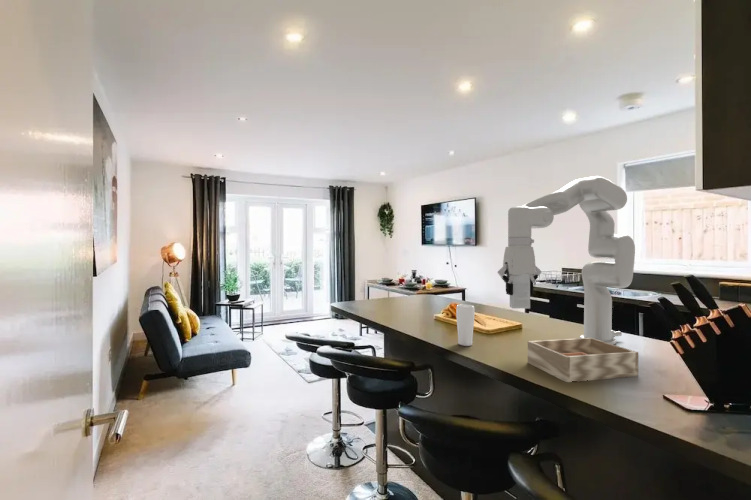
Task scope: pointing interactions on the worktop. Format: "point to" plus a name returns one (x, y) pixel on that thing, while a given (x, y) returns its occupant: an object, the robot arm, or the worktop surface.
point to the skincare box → (520, 292)
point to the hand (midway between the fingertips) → (519, 293)
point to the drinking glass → (465, 324)
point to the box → (582, 359)
